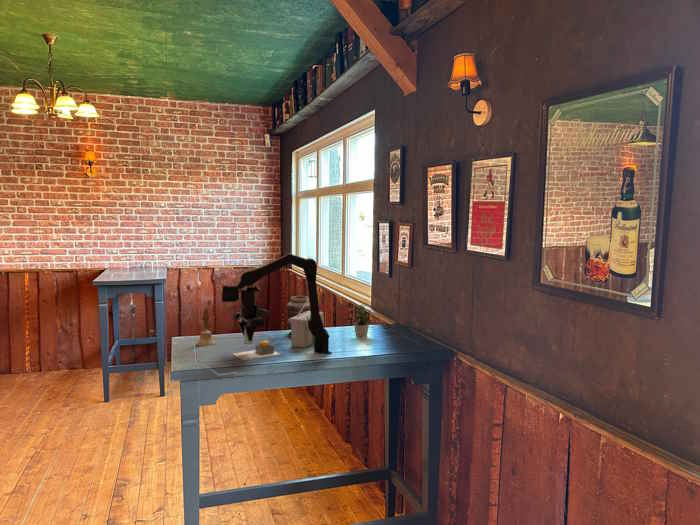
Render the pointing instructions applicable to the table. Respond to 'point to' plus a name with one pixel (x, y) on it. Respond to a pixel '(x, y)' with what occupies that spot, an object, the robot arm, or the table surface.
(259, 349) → the button housing
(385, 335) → the table surface
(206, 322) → the hand bell
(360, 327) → the house plant
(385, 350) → the table surface
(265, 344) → the button
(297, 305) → the apothecary jar
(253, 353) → the board
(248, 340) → the sage marker
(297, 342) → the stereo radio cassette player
